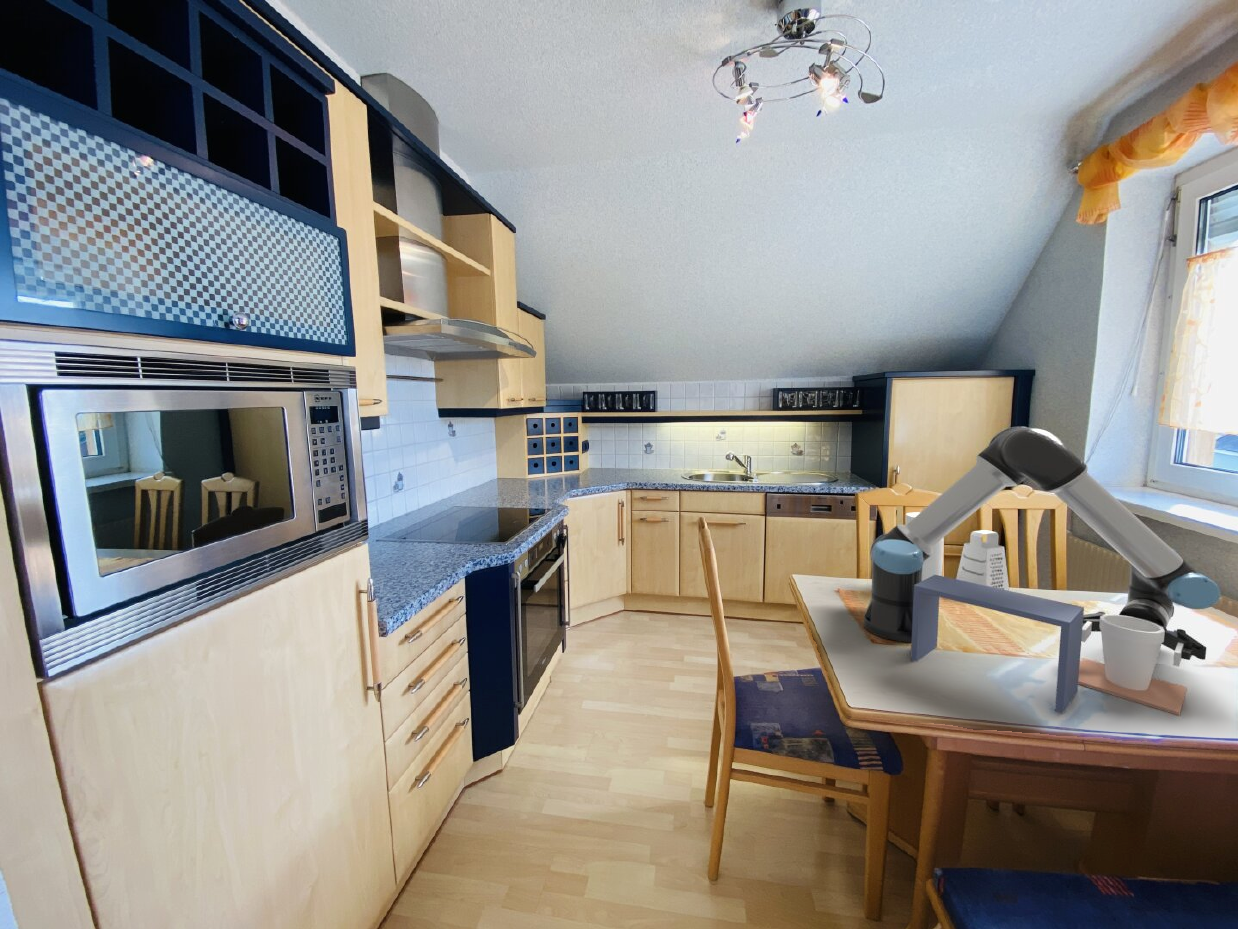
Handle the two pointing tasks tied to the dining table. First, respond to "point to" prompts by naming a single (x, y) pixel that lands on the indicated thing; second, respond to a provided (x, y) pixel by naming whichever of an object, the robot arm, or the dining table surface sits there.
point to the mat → (1155, 696)
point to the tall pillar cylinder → (935, 560)
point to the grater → (983, 561)
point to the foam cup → (1130, 650)
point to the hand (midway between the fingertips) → (1127, 647)
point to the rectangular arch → (1003, 602)
